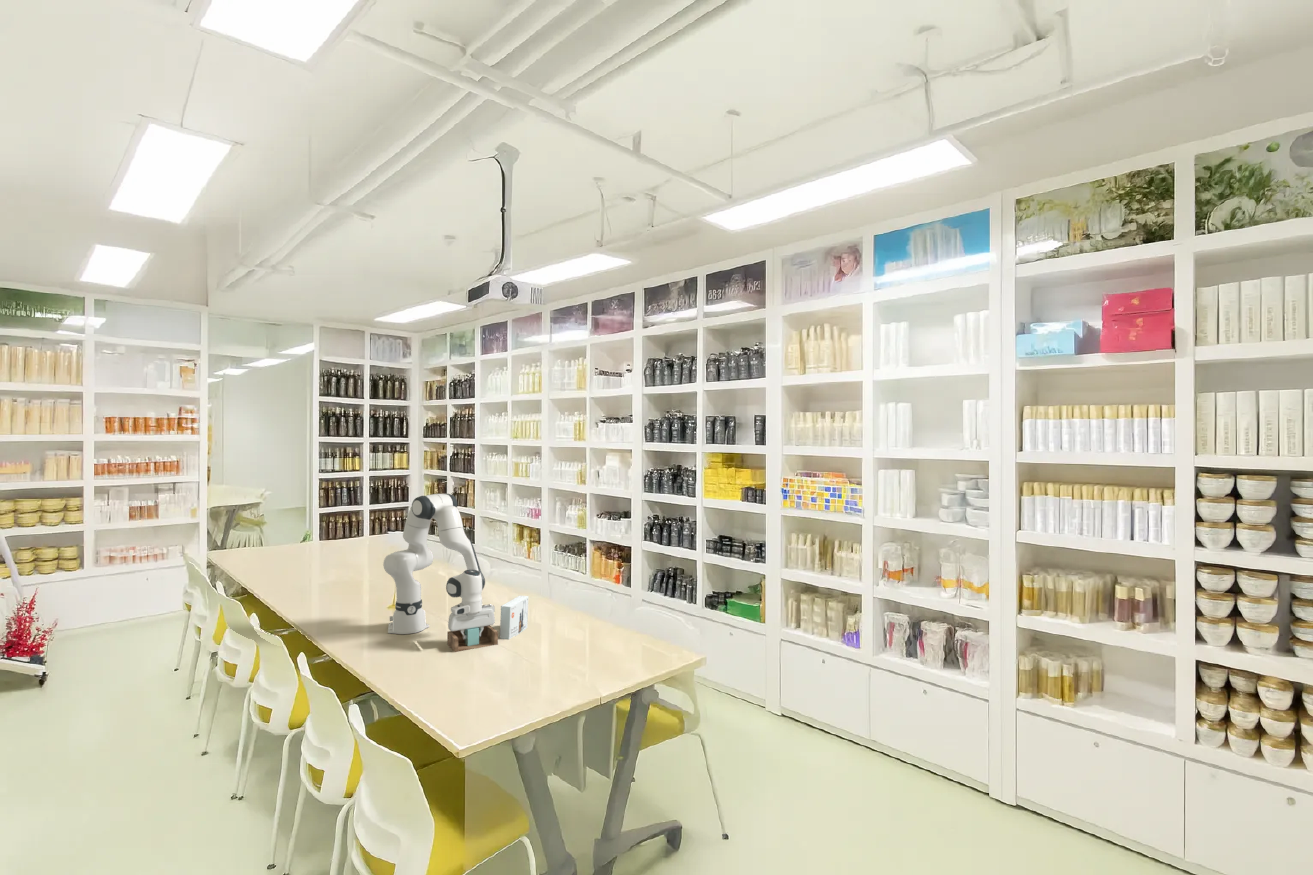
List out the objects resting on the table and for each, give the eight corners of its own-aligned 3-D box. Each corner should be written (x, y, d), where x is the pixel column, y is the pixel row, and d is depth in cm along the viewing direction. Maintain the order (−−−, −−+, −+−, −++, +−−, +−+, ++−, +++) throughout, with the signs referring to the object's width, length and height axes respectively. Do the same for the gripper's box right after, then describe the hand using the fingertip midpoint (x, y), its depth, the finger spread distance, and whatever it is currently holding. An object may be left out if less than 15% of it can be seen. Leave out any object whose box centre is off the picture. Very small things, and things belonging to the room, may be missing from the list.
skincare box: (510, 641, 288) (510, 606, 288) (499, 640, 289) (499, 605, 289) (528, 627, 308) (528, 595, 308) (518, 627, 309) (518, 594, 310)
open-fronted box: (447, 646, 281) (447, 631, 281) (489, 638, 291) (489, 624, 291) (454, 653, 271) (454, 638, 271) (497, 646, 281) (497, 631, 281)
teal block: (464, 642, 282) (464, 627, 282) (475, 640, 285) (475, 625, 285) (467, 645, 278) (467, 630, 278) (479, 643, 281) (479, 628, 281)
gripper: (492, 601, 290) (492, 631, 290) (447, 608, 279) (447, 639, 279) (496, 605, 285) (496, 635, 285) (450, 611, 274) (450, 643, 274)
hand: (471, 637), depth 282 cm, fingers closed on teal block, 5 cm apart
